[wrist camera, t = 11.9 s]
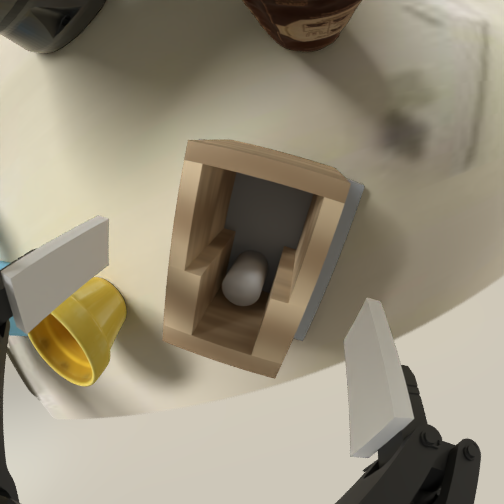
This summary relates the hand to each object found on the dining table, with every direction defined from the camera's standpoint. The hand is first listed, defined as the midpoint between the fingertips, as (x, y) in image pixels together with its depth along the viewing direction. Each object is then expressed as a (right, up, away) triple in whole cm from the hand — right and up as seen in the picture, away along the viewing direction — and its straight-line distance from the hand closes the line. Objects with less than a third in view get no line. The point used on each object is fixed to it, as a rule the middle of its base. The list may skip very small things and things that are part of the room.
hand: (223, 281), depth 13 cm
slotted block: (+2, +3, +9) cm, 10 cm away
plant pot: (-16, -4, +18) cm, 24 cm away
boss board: (+2, +2, +11) cm, 11 cm away
